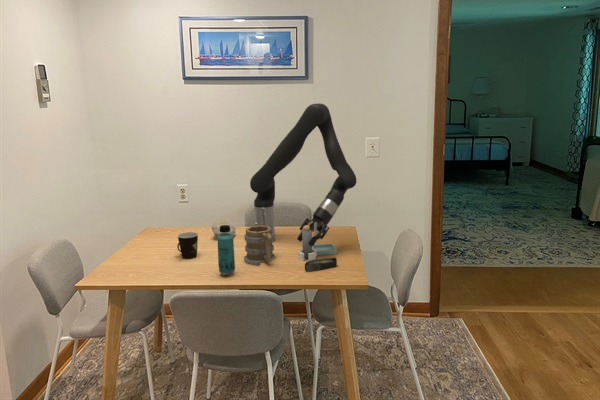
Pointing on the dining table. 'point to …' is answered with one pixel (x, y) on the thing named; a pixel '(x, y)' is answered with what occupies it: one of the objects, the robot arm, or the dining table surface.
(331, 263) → the mobile phone
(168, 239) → the dining table surface
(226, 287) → the dining table surface
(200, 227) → the dining table surface
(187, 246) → the coffee mug
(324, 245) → the tray
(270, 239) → the tankard
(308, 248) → the grey tan rounded cylinder
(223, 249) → the beverage bottle
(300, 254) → the round holder stand
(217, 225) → the fossil replica
